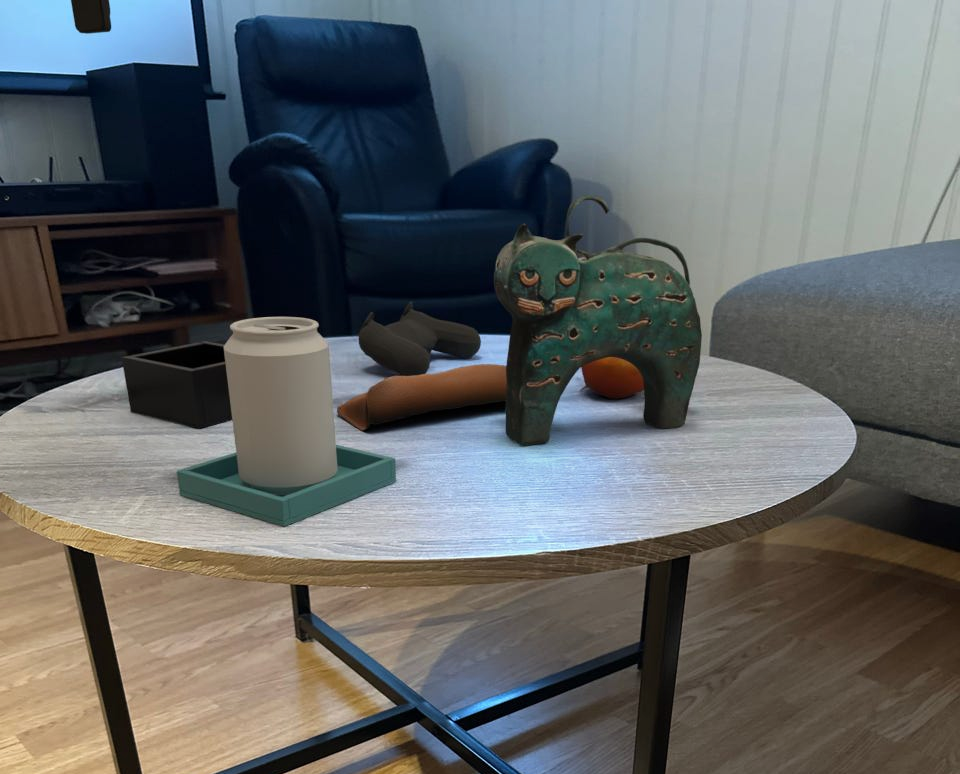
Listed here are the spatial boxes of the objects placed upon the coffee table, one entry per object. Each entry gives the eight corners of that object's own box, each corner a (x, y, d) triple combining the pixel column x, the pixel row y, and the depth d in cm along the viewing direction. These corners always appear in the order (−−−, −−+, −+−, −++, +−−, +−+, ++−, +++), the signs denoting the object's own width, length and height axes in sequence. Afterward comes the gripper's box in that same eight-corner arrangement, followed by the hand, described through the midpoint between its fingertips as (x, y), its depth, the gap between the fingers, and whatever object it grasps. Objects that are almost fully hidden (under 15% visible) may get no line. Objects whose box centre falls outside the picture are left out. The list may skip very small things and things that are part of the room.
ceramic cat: (507, 452, 81) (513, 197, 72) (480, 433, 86) (481, 193, 77) (701, 429, 88) (729, 194, 78) (664, 413, 93) (687, 190, 84)
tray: (284, 526, 65) (281, 500, 64) (179, 494, 71) (175, 470, 70) (396, 481, 74) (395, 458, 73) (295, 456, 80) (293, 434, 79)
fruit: (602, 366, 105) (635, 307, 99) (644, 414, 103) (680, 356, 97) (550, 376, 101) (581, 314, 95) (593, 426, 98) (627, 367, 92)
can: (357, 477, 74) (348, 318, 68) (295, 505, 68) (279, 334, 62) (284, 462, 77) (269, 309, 71) (218, 488, 71) (197, 323, 65)
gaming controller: (469, 374, 119) (410, 326, 120) (491, 336, 115) (429, 287, 116) (403, 402, 106) (337, 349, 107) (425, 361, 102) (356, 305, 103)
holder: (199, 429, 87) (191, 371, 85) (130, 412, 92) (121, 357, 90) (279, 406, 94) (274, 352, 92) (211, 392, 100) (205, 341, 97)
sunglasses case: (483, 386, 100) (502, 336, 95) (514, 432, 98) (535, 383, 92) (329, 409, 92) (340, 355, 86) (359, 460, 89) (372, 408, 84)
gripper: (60, -271, 61) (108, 39, 69) (-239, -378, 49) (-139, 16, 57) (133, -298, 57) (174, 34, 65) (-173, -421, 45) (-75, 8, 53)
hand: (29, 25), depth 61 cm, fingers open, 9 cm apart
